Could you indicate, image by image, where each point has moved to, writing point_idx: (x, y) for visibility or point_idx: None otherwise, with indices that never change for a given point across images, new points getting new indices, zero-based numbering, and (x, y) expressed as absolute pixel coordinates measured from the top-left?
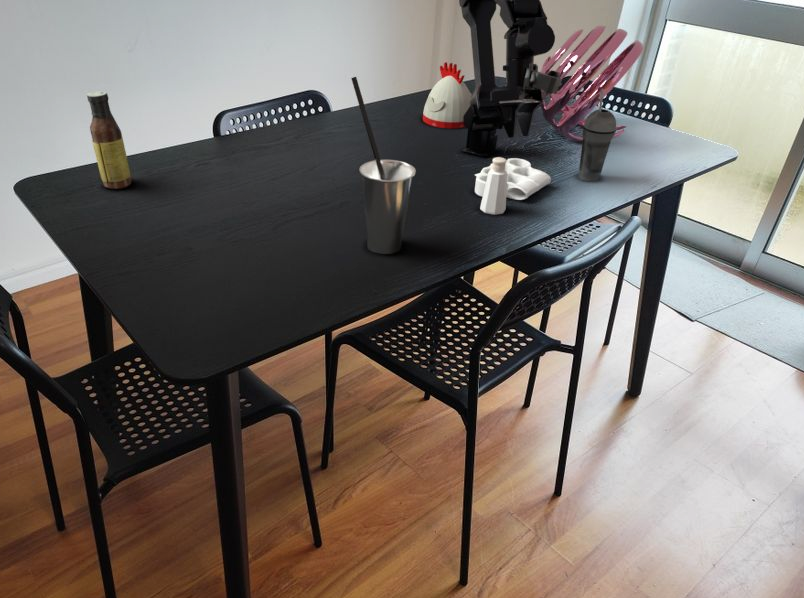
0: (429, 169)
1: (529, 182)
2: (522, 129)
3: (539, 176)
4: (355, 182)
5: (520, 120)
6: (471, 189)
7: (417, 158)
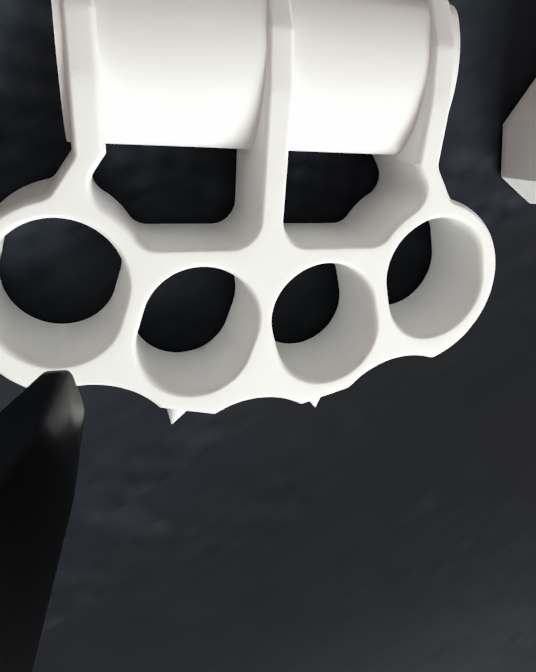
0: (285, 572)
1: (332, 51)
2: (68, 481)
3: (171, 31)
4: (507, 602)
5: (31, 625)
6: None
7: (213, 662)
